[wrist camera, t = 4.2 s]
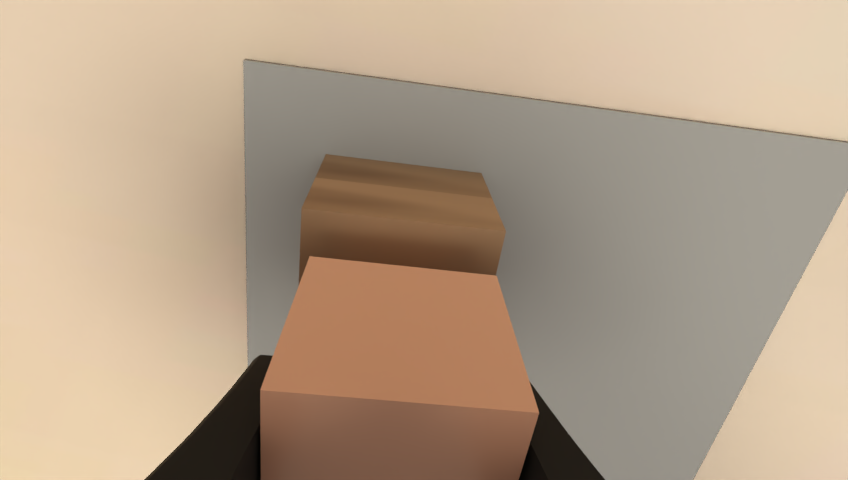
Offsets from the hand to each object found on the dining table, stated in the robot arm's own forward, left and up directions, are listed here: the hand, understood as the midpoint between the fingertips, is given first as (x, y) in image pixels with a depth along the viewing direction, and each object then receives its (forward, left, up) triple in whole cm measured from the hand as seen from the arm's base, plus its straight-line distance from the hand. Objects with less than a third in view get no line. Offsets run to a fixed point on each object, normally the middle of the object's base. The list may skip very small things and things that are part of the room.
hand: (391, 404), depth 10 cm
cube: (0, 0, -2) cm, 2 cm away
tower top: (0, 0, -6) cm, 6 cm away
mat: (-5, -5, -8) cm, 11 cm away
